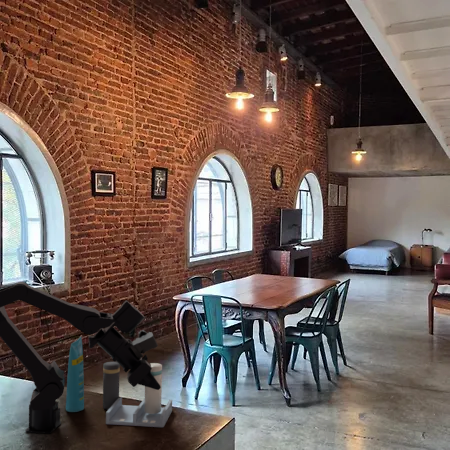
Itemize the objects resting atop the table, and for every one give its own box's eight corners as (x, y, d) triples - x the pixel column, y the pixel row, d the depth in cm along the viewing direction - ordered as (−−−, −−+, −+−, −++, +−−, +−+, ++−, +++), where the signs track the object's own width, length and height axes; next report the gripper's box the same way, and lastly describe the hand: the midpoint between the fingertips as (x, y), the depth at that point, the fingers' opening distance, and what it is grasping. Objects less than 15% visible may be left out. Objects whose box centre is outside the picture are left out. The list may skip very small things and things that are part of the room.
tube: (80, 414, 133) (81, 343, 133) (62, 414, 133) (63, 342, 133) (87, 404, 141) (88, 336, 141) (69, 403, 141) (70, 336, 140)
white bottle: (144, 414, 129) (145, 368, 129) (144, 407, 134) (144, 363, 134) (161, 413, 130) (162, 367, 130) (160, 406, 135) (161, 362, 134)
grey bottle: (100, 409, 137) (100, 365, 137) (105, 403, 142) (106, 361, 142) (116, 410, 137) (116, 366, 137) (121, 404, 141) (121, 362, 141)
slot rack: (105, 424, 128) (106, 412, 127) (119, 407, 138) (119, 397, 138) (163, 427, 126) (163, 415, 126) (172, 410, 137) (172, 399, 137)
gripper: (143, 331, 122) (186, 373, 125) (136, 316, 140) (174, 353, 143) (109, 365, 120) (154, 407, 123) (106, 345, 138) (146, 383, 141)
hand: (158, 385), depth 132 cm, fingers closed on white bottle, 4 cm apart
